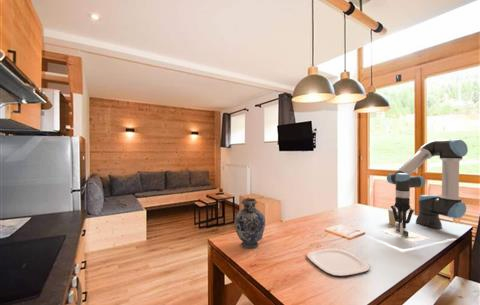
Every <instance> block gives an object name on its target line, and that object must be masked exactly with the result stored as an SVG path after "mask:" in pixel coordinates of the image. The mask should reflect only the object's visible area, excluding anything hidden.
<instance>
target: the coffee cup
mask: <svg viewBox="0 0 480 305" xmlns="http://www.w3.org/2000/svg"><path fill="white" fill-rule="evenodd" d="M396 211H397V215H398V209H397V208H396ZM387 212H388V222H389V224H390V225H391V226H395V222H397V221H395V218H394V214H393V210H392V208H388V209H387ZM402 221H403V213H402Z"/></svg>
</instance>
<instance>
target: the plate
mask: <svg viewBox="0 0 480 305" xmlns="http://www.w3.org/2000/svg"><path fill="white" fill-rule="evenodd" d="M306 257H307V259H308V260H309V261H310V262H312V263H313V264H314V265H315V266H316V267H318V268H319V269H320V270H322V271H323V272H324V273H327V274H329V275H332V276H335V277H336V276H337V277H344V276H345V277H346V276H347V277H348V276H352V275H359V274H362V273H365V272H368V271H369V270H370V269H371V267H370V266H369V264H367V263H366V262H365V261H364V260H362V259H360V258H359V257H357V256H356V255H354V254H352V253H350V252H348V251H346V250H344V249H340V248H324V249H319V250H313V251H310V252H308V253H307V254H306Z"/></svg>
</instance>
